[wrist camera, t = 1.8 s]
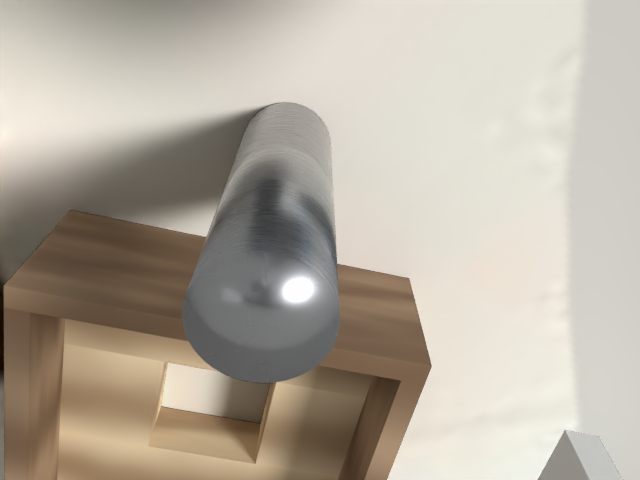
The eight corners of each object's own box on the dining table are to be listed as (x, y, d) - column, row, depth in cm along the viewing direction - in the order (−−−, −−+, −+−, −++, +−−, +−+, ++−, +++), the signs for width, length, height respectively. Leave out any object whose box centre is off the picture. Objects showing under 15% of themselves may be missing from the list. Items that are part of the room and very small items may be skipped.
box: (70, 210, 29) (3, 285, 23) (409, 278, 31) (431, 366, 25) (58, 459, 37) (4, 567, 31) (331, 503, 39) (333, 614, 32)
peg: (251, 93, 27) (193, 237, 14) (339, 113, 27) (357, 270, 15) (236, 176, 29) (173, 368, 16) (319, 193, 29) (320, 394, 17)
